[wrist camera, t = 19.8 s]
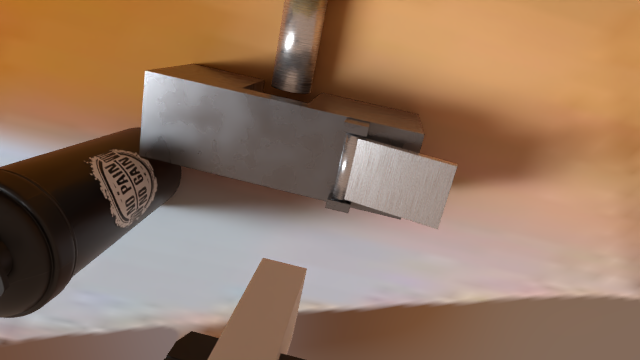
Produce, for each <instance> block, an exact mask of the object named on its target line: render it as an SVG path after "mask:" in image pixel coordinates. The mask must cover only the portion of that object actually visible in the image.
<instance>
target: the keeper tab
mask: <svg viewBox="0 0 640 360" xmlns="http://www.w3.org/2000/svg"><path fill="white" fill-rule="evenodd" d="M457 166H458V164H456V163H453V162H449V161H445V160H442V159H438V158H435V157H431V156H428V155H424V154H420V153H417V152H413V151H410V150H406V149H403V148H399V147H395V146H392V145H388V144H385V143H381V142H378V141H374V140H370V139H367V138H363V137H362V136H361V135H357V134H352V133H346V138H345V142H344V146H343V151H342V155H341V160H340V164H339V169H338V173H337V178H336V182H335V187H334V191H333V197H334V198H336V199H338V200H348V201H351V202H355V203H358V204H361V205H364V206H367V207H370V208H373V209H376V210H379V211H382V212H386V213H389V214H392V215H395V216H398V217H401V218H404V219H407V220H410V221H413V222H416V223H420V224H423V225H426V226H429V227H432V228H435V229H438V226H439V223H440V220H441V217H442V214H443V211H444V207H445V204H446V201H447V198H448V195H449V191H450V188H451V185H452V182H453V179H454V176H455V172H456V169H457Z"/></svg>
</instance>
